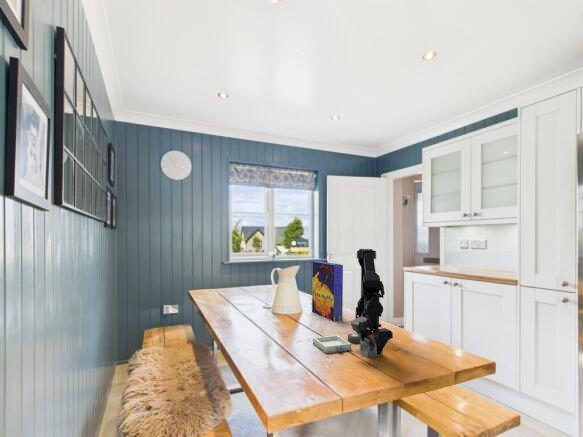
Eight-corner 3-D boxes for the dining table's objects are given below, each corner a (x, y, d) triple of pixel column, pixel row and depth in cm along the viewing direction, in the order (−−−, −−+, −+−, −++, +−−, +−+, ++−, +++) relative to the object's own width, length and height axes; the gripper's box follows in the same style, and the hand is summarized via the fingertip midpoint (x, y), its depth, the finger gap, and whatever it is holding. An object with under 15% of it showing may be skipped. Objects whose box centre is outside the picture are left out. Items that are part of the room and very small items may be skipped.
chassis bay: (335, 339, 142) (335, 333, 142) (353, 351, 128) (353, 345, 129) (311, 342, 138) (311, 336, 138) (327, 355, 124) (327, 348, 124)
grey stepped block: (375, 351, 130) (375, 335, 130) (382, 355, 125) (383, 339, 125) (360, 353, 127) (360, 337, 127) (367, 357, 122) (367, 341, 123)
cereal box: (311, 312, 191) (312, 261, 193) (320, 311, 194) (321, 260, 195) (333, 321, 172) (333, 264, 173) (342, 320, 175) (342, 264, 176)
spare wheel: (356, 338, 145) (357, 332, 145) (364, 342, 139) (364, 336, 139) (345, 339, 142) (345, 333, 143) (352, 344, 137) (352, 338, 137)
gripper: (341, 306, 133) (341, 345, 132) (368, 318, 115) (367, 362, 115) (364, 304, 137) (364, 342, 136) (393, 315, 119) (393, 358, 119)
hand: (371, 350), depth 126 cm, fingers open, 9 cm apart
